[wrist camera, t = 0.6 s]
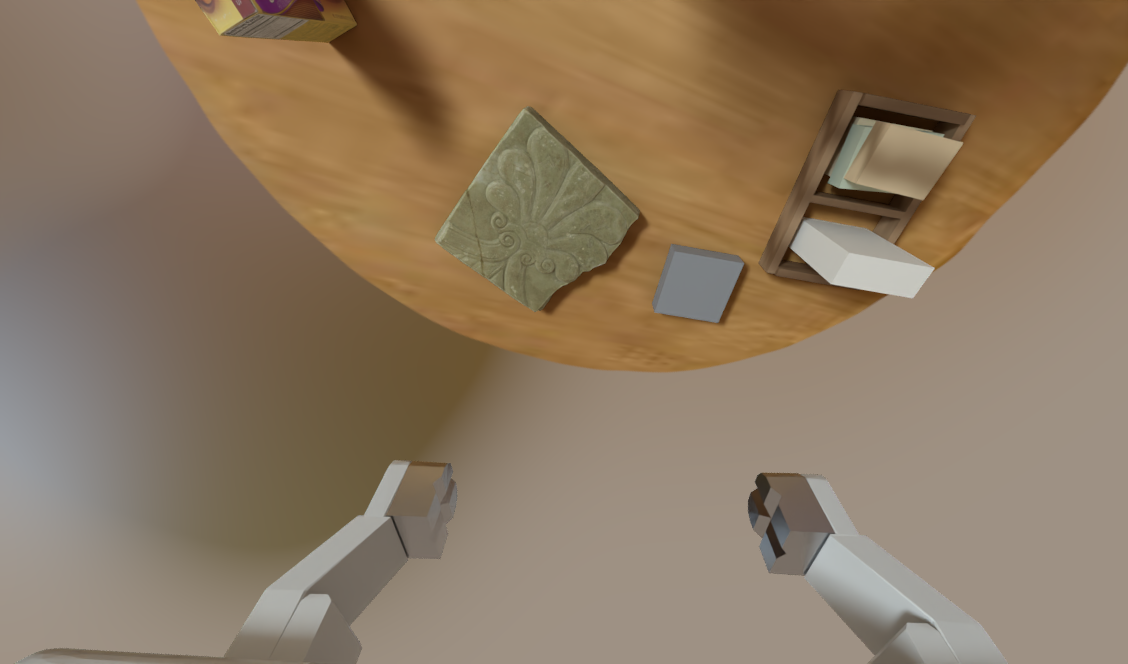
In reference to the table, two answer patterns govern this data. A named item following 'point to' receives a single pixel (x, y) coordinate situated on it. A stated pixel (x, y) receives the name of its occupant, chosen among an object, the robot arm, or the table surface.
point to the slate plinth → (696, 283)
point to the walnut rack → (809, 179)
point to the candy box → (279, 18)
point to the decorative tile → (536, 214)
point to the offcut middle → (848, 155)
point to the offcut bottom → (853, 121)
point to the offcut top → (901, 160)
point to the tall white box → (858, 258)
